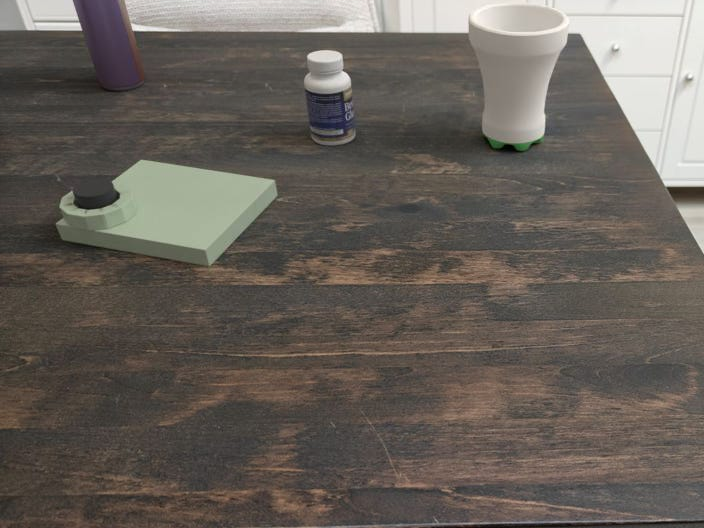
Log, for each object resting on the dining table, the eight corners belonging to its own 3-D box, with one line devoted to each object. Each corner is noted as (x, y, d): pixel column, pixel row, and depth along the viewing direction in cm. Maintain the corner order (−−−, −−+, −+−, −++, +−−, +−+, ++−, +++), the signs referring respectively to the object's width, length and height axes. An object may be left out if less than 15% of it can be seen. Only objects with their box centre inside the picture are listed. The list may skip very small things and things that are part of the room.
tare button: (69, 208, 71) (63, 193, 70) (93, 190, 74) (88, 175, 72) (102, 213, 70) (97, 198, 69) (125, 195, 73) (120, 181, 72)
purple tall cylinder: (127, 94, 99) (90, -29, 89) (90, 88, 100) (50, -34, 90) (155, 79, 103) (123, -41, 93) (120, 73, 105) (84, -46, 95)
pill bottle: (357, 145, 89) (349, 63, 82) (311, 148, 88) (299, 65, 82) (355, 126, 93) (347, 46, 86) (311, 129, 92) (300, 48, 86)
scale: (58, 241, 72) (44, 209, 70) (144, 174, 83) (134, 145, 80) (208, 268, 69) (199, 236, 67) (277, 196, 80) (272, 165, 77)
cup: (477, 115, 96) (479, -2, 87) (563, 124, 94) (574, 6, 85) (458, 154, 88) (458, 29, 78) (551, 164, 86) (562, 38, 77)
